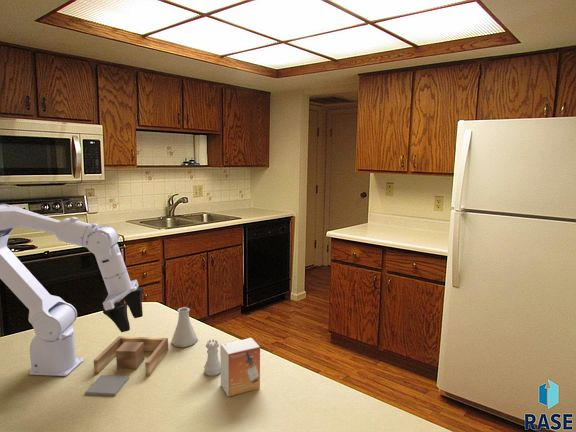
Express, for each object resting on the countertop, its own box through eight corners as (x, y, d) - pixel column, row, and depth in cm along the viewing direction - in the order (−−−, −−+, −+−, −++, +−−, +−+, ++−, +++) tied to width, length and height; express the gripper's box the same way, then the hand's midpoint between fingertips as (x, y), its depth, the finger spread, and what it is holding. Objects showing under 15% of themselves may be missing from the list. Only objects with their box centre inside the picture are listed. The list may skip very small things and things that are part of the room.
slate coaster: (85, 394, 91) (85, 391, 91) (101, 377, 98) (101, 374, 98) (115, 395, 90) (115, 393, 90) (129, 378, 97) (129, 376, 97)
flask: (202, 340, 117) (201, 308, 116) (184, 350, 111) (182, 316, 110) (185, 334, 121) (184, 302, 119) (166, 343, 115) (164, 310, 113)
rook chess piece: (218, 377, 98) (217, 347, 97) (201, 375, 99) (200, 345, 98) (224, 368, 102) (224, 338, 101) (208, 366, 103) (207, 336, 102)
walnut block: (117, 369, 101) (115, 350, 101) (126, 359, 106) (125, 341, 106) (136, 370, 101) (135, 351, 100) (144, 359, 106) (143, 342, 105)
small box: (228, 398, 90) (227, 354, 88) (220, 385, 95) (219, 343, 93) (260, 388, 94) (260, 346, 92) (251, 376, 99) (251, 336, 97)
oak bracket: (94, 373, 99) (93, 360, 99) (119, 348, 112) (118, 336, 111) (149, 375, 98) (149, 362, 98) (168, 349, 111) (167, 338, 111)
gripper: (116, 281, 92) (134, 334, 94) (142, 261, 106) (157, 308, 108) (87, 287, 92) (107, 340, 95) (117, 267, 107) (133, 313, 109)
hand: (132, 323), depth 102 cm, fingers open, 7 cm apart
